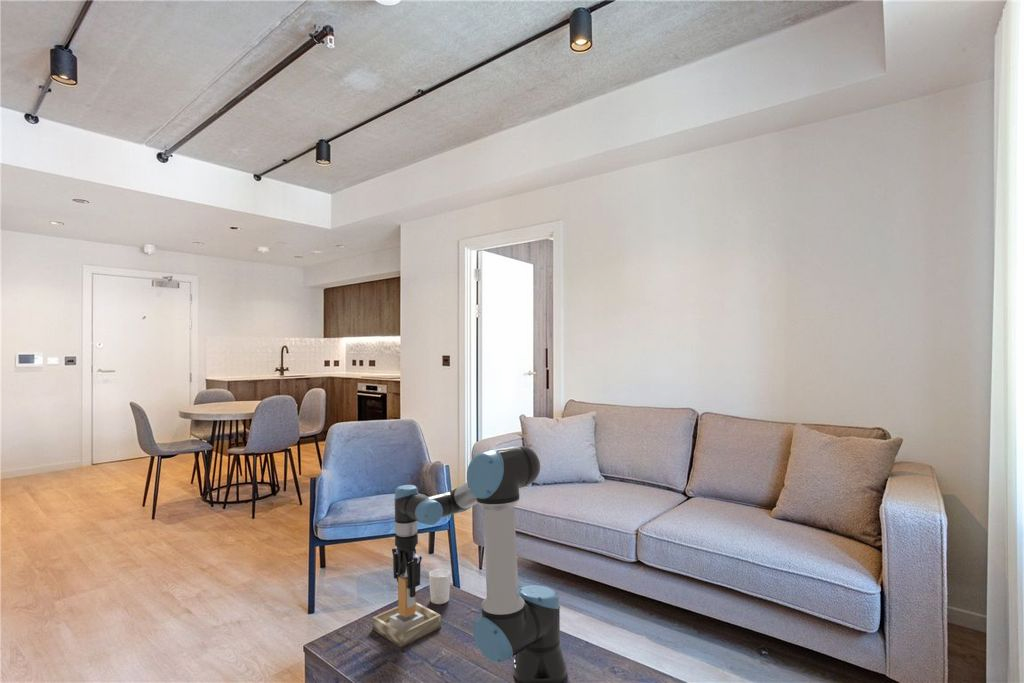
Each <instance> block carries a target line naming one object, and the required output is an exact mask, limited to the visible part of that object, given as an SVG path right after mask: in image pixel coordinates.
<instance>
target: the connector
mask: <svg viewBox="0 0 1024 683" xmlns="http://www.w3.org/2000/svg"><path fill="white" fill-rule="evenodd" d="M407 586H408V577H407V571H406V573H403V574H400V576H399V577H398V582H397V593H398V594H397V596H398V597H397V603H398V605H397V606H398V614H400V615H402V616H404V617H405V618H406V617H408V616H410V615H412V614H414V613H415V605H414V606H412V607H409V608H407Z"/></svg>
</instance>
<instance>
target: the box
mask: <svg viewBox="0 0 1024 683" xmlns="http://www.w3.org/2000/svg"><path fill="white" fill-rule="evenodd" d="M415 611H416V612H418V613H420V614H422V615H424V622H422V623H420V624H418V625H416V626H414V627H412V628H409V629H407V630H405V631H403V632H401V631H399V630H397V629H396V628H394V627H392V626H391V625H390V616H392V615H395V614H397V613H398V605H397V606H394V607H393V608H391V609H388V610H386V611H384V612H381V613H379V614H377V615H375V616H372V618H371V620H372V622H371V625H372V631H374V632H376V633H377V634H379V635H381V636H382V637H384V638H385V639H386V640H388V641H390V642H391V643H393V644H395V645H396V646H398V648H404V647H406V646H408V645H409V644H411V643H413V642H416V641H417V640H419V639H422V638H423V637H425V636H427V635H429V634H431V633H432V632H434V631H436V630H438V629H440V628H441V627H442V615H441V614H439V612H436V611H434V610H432V609H430V608H429V607H427V606H425V605H423V604H421V603H419V602H417V601H415ZM408 620H409V619H408ZM408 620H406V621H408ZM406 621H404V622H406Z"/></svg>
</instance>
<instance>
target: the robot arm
mask: <svg viewBox="0 0 1024 683" xmlns="http://www.w3.org/2000/svg"><path fill="white" fill-rule="evenodd" d="M540 471H541V462H540V459H539V457H538V455H537V454H536V452H535V451H534V450H533V449H532V448H530V447H527V446H525V445H512V446H508V447H503V448H501V447H500V448H496V449H491V450H486V451H483V452H480V453H478V454H476V455H474V456H473V458H472V459H471V460H470V461H469V464H468V466H467V470H466V482H465V483H463V484H461V485H459V486H458V487H456V488H454V489H452V490H449V491H446V492H442V493H441V492H440V493H437V494H433V495H428V496H421V495H419V489H418V487H417V486H416V485H414V484H403V485H399V486H397V487H396V488H395V491H394V533H395V535H394V546H395V547H394V548H391V551H392V566H393V568H392V570H393V578H394V579H395V580H396V582H397V583H398V577H399V576H400V574H403V573H406V572H407V577H408V586H407V608H409V607H412V606H414V605H415V602H416V591H417V590H416V587H418V586H420V585H421V562H422V559H423V556H421V555H418V554H417V551H416V547H417V545H418V543H419V533H418V530H419V528H418V527H419V526H418V524H419V523H421V524H422V525H423V524H424V525H428V526H434V525H436V524H437V523H438V522H439V521H440V520H441V519H442V518H444V517H448V516H451V515H455V514H458V513H464V512H466V511H468V510H470V509H471V508H472V507H473V506H476V505H479V506H480V507H481V508H482V519H483V521H482V522H483V541H484V543H483V544H484V560H485V561H484V564H485V585H486V587H485V589H486V598H484V599H483V601H482V602H481V617H478V618H477V620H475V622H474V624H473V629H472V630H473V637H474V640H475V644H476V646H477V648H478V649H479V651H480V653H481V655H483V656H484V658H485V659H486V660H488V661H489V662H492V663H493V664H501V663H503V662H506V661H508V660H511V659H512V658H513V657H514V656H515V657H514V660H513V663H512V664H513V665H512V673H513V677H514V678H515V679H516V681H517V682H518V683H562V682H564V681H565V680H566V676H567V663H566V659H565V658H564V655H563V652H562V651H563V650H562V648H561V642H560V641H561V637H560V636H561V630H560V629H561V627H560V626H561V625H560V624H561V622H560V620H561V619H560V618H561V615H560V613H561V612H560V611H561V610H560V609H561V606H560V598H559V595H558V593H557V592H556V591H555V590H554V589H552V588H551V587H548V586H543V585H537V584H531V585H530V584H529V585H524V586H522V587H520V588H519V576H518V573H519V572H518V571H519V570H518V556H517V535H516V513H515V506H516V504H517V503H518V502H519V501H520V489H521V488H524V487H528V486H529V485H531V484H533V483H534V482H535V481H536V480H537V479H538V476H539V475H540Z"/></svg>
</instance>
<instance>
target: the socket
mask: <svg viewBox="0 0 1024 683" xmlns="http://www.w3.org/2000/svg"><path fill="white" fill-rule="evenodd" d="M408 619H409V620H408ZM406 620H408V621H406ZM404 621H406V622H404ZM422 622H424V615H422V614H420V613H418V612H416V611H415V613H414V614H412V615H410V616H408V617H406V618H405V617H404V616H402V615H400V614H398V613H397V614H395V615H392V616H390V625H391V626H392V627H394V628H396V629H397V630H399V631H401V632H403V631H405V630H407V629H409V628H412V627H414V626H416V625H418V624H420V623H422Z"/></svg>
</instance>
